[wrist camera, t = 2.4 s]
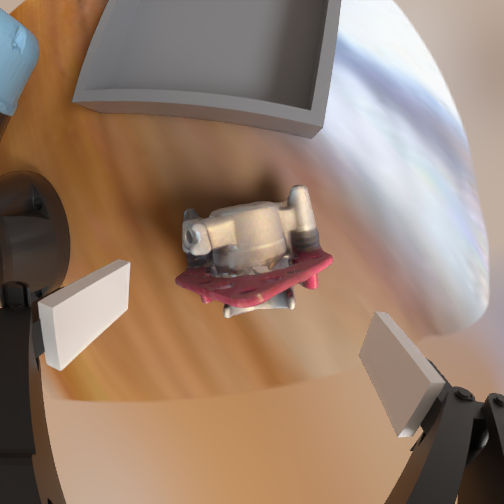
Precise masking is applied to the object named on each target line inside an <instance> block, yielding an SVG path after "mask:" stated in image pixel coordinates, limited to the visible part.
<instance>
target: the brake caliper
mask: <svg viewBox="0 0 504 504" xmlns="http://www.w3.org/2000/svg"><path fill="white" fill-rule="evenodd" d="M182 249H183V251H184V252H185V253H186V256H187V260H188V265H187V269H186V271H185V272H183V273H181V274H180V275H179V276H177V277H176V279H175V281H176V284H177V285H178V286H181V287H182V288H186V289H188V290H191V291H193V292H195V293H197V294H199V295H200V296H201V300H202V302H203V303H210V302H211V301H212V300H213V299H214V300H217V301H220V302H222V303H225V305H224V308H223V313H224V316H225V317H226V318H229V317H231V316H233V315H237V314H241V313H245V312H250V311H252V310H255V309H268V308H289V309H290V310H293V309H294V308H295V295H294V292H293V289H294V286H295V285H296V284H301V285H302V286H303V287H305V288H308V289H316V288H318V276H317V273H318V272H320V271H322V270H323V269H325V268H326V267H327V266H329V265H330V264H331V263H332V262H333V257H332V256H331V255H330V254H328V253H326V252H324V251H323V250H322V248H321V246H320V243H319V233H318V230H317V227H316V223H315V219H314V213H313V209H312V206H311V200H310V197H309V194H308V190H307V187H306V186H304V185H295V186H293V187H292V188H291V191H290V195H289V197H288V199H287V200H286V201H283V202H274V203H273V202H270V201H257V202H253V203H248V204H240V205H235V206H231V207H225V208H220V209H218V210H215V211H213V212H211V213H210V215H209V217H208V218H205V219H203V218H201V217H200V216H199V215H198V214H197V213H196V211H195V210H194V209H192V208H189V209H187V210H186V211H185V212H184V220H183V224H182Z"/></svg>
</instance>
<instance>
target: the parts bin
mask: <svg viewBox="0 0 504 504" xmlns="http://www.w3.org/2000/svg"><path fill="white" fill-rule="evenodd" d="M340 7H341V0H109V1H108V3H107V5H106V7H105V10H104V12H103V14H102V16H101V19H100V21H99V23H98V26H97V28H96V30H95V33H94V35H93V38H92V40H91V43H90V46H89V48H88V51H87V54H86V57H85V60H84V63H83V66H82V69H81V72H80V75H79V78H78V81H77V85H76V88H75V92H74V95H73V99H72V103H75V104H78V105H81V106H83V107H86V108H88V109H91V110H94V111H96V112H99V113H123V114H146V115H161V116H174V117H184V118H194V119H203V120H211V121H218V122H225V123H232V124H239V125H245V126H251V127H257V128H262V129H268V130H273V131H278V132H283V133H288V134H292V135H297V136H301V137H306V138H310V139H312V138H313V137H314V136H315V135H316V134H317V133H318V132H319V131H320V130H321V129H322V128H323V124H324V118H325V112H326V106H327V100H328V94H329V88H330V81H331V75H332V68H333V61H334V54H335V47H336V40H337V32H338V24H339V16H340Z"/></svg>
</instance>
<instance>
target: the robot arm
mask: <svg viewBox="0 0 504 504" xmlns="http://www.w3.org/2000/svg"><path fill="white" fill-rule="evenodd" d="M38 58H39V44H38V41H37V39H36V37H35V36H34V35H33V34H32V33H31V32H30V31H29V30H28V29H27V28H26V27H24V26H23V25H22V24H21V23H19V22H18V21H17V20H16V19H14V18H13V17H12V16H10V15H9V14H8V13H6V12H5V11H4V10H2V9H1V8H0V141H1V139H2V136H3V134H4V131H5V129H6V127H7V124H8V122H9V120H10V118H11V116H13V115H14V113H15V111H16V110H17V106H18V100H19V98H20V96H21V93H22V91H23V89H24V87H25V85H26V83H27V81H28V79H29V77H30V76H31V74H32V72H33V70H34V68H35V66H36V64H37V61H38ZM69 257H70V236H69V228H68V222H67V218H66V214H65V211H64V208H63V205H62V203H61V201H60V198H59V197H58V195H57V193H56V191H55V190H54V188H53V187H52V186H51V184H50V183H49V182H48V181H47V180H46V179H45V178H43V177H42V176H41V175H39V174H37V173H34V172H29V171H18V172H10V173H7V174H4V175H3V176H1V177H0V307H2V308H0V504H66V502H65V498H64V495H63V492H62V489H61V485H60V482H59V478H58V475H57V471H56V467H55V463H54V459H53V455H52V450H51V445H50V440H49V435H48V429H47V423H46V417H45V409H44V402H43V392H42V382H41V367H40V360H39V356H40V355H41V354H43V353H44V352H45V358H46V363H47V365H49V366H51V367H53V368H55V369H57V370H59V371H62V370H63V369H64V368H65V367H66V366H67V365H68V364H69V363H70V362H71V361H72V360H73V359H74V358H75V357H76V356H77V355H78V354H80V353H81V352H82V351H83V350H84V349H85V348H86V347H87V346H88V345H89V344H90V343H91V342H92V341H93V340H95V339H96V338H97V337H98V336H99V335H100V334H101V333H102V332H103V331H104V330H105V329H106V328H108V327H109V326H110V325H111V324H112V323H113V322H114V321H115V320H116V319H118V318H119V317H120V316H121V315H122V314H123V313H124V312H125V311H126V310H128V294H129V277H130V263H131V262H128V261H124V260H120V259H118V260H116V261H114V262H112V263H110V264H108V265H106V266H104V267H102V268H100V269H98V270H96V271H94V272H92V273H90V274H88V275H86V276H84V277H83V278H81V279H79V280H77V281H75V282H73V283H71V284H69V285H67V286H66V287H61V288H60V286H61V285H62V283H63V281H64V278H65V276H66V273H67V269H68V265H69ZM359 357H360V359H361V361H362V363H363V365H364V367H365V369H366V371H367V373H368V375H369V377H370V379H371V381H372V383H373V385H374V387H375V389H376V391H377V394H378V396H379V398H380V400H381V402H382V404H383V406H384V408H385V410H386V413H387V415H388V417H389V419H390V421H391V424H392V426H393V428H394V430H395V432H396V435H397V437H410V436H413V435H414V434H415V432H416V431H417V429H418V428H419V426H420V425H421V427H422V429H423V431H424V432H423V433H422V435H421V436H420V438H419V439H418V441H417V442H416V443H415V444H414V446H413V447H412V448H411V450H410V451H413V452H412V454H411V456H410V458H409V460H408V462H407V464H406V466H405V468H404V470H403V472H402V474H401V476H400V478H399V479H398V481H397V483H396V485H395V487H394V488H393V490H392V492H391V493H390V495H389V497H388V498H387V500H386V502H385V503H384V504H455V501H456V498H457V494H458V504H504V396H503V395H501V394H496V393H491V394H489V396H488V397H487V399H486V400H485V402H484V403H483V402H476V401H475V397H474V396H473V394H472V393H471V392H469V391H468V390H466V389H464V388H461V387H452V386H451V385H450V384H449V383H448V381H447V380H446V379H445V377H444V376H443V375H442V374H441V373H440V371H439V370H438V369H437V368H436V366H434V364H433V363H432V362H431V361H430V360H428V359H427V358H426V357H424V355H423V354H422V353H421V352H420V351H419V349H418V348H417V347H416V346H415V345H414V343H413V342H412V341H411V340H410V339H409V338H408V336H407V335H406V334H405V333H404V332H403V331H402V329H401V328H400V327H399V326H398V325H397V324H396V323H395V321H394V320H393V319H392V318H391V317H390V316H389V315H388V314H387V313H384V312H377V311H375V312H374V315H373V318H372V321H371V324H370V327H369V329H368V332H367V335H366V338H365V340H364V343H363V346H362V348H361V351H360V353H359ZM486 442H487V443H486ZM485 444H486V445H485Z"/></svg>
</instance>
